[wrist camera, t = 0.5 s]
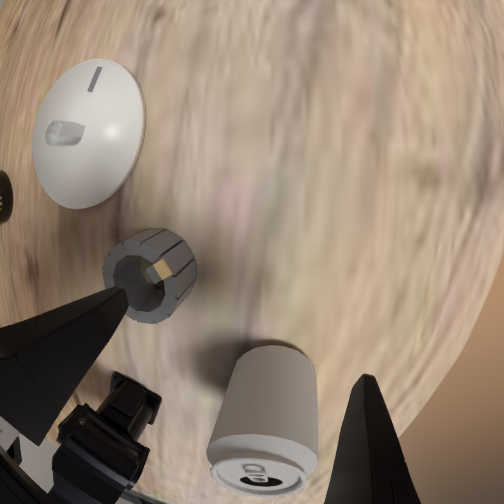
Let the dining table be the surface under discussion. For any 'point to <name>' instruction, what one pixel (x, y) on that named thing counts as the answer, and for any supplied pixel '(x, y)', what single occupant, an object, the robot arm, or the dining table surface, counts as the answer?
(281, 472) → the can
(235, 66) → the dining table surface
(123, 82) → the shaft hub
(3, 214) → the supplement bottle
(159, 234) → the grey segmented ring
